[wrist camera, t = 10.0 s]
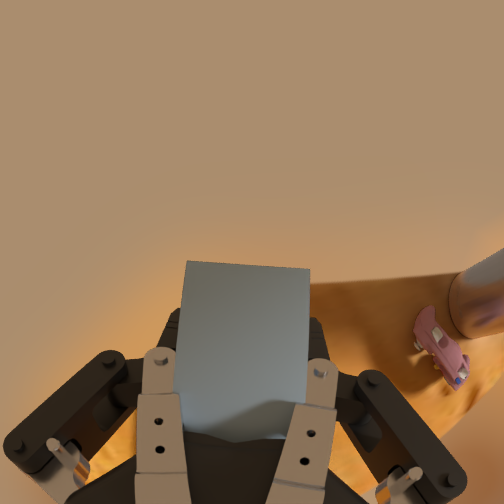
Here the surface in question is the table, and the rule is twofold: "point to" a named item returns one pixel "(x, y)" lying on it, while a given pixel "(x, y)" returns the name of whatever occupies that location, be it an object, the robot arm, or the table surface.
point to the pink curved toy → (441, 348)
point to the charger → (242, 349)
